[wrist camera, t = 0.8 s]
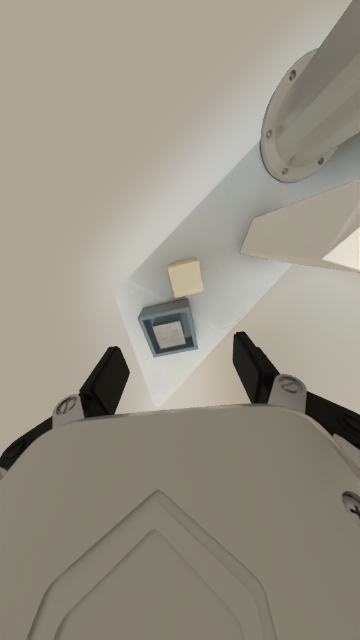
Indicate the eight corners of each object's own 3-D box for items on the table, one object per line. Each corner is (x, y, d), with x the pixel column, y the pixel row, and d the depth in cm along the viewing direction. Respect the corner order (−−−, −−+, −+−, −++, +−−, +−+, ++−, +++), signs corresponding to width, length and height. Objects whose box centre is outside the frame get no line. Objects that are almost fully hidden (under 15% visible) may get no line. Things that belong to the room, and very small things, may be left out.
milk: (252, 218, 27) (456, 137, 7) (280, 227, 28) (536, 175, 8) (239, 253, 30) (362, 262, 10) (265, 260, 30) (429, 282, 11)
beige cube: (194, 257, 30) (198, 260, 24) (198, 283, 32) (203, 291, 27) (169, 264, 30) (167, 268, 25) (175, 289, 33) (175, 297, 27)
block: (179, 311, 34) (179, 321, 30) (184, 332, 37) (185, 343, 32) (155, 316, 35) (152, 326, 30) (162, 336, 37) (160, 348, 33)
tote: (187, 298, 34) (189, 306, 29) (195, 336, 39) (198, 348, 34) (143, 308, 35) (137, 318, 30) (156, 343, 40) (153, 357, 35)
